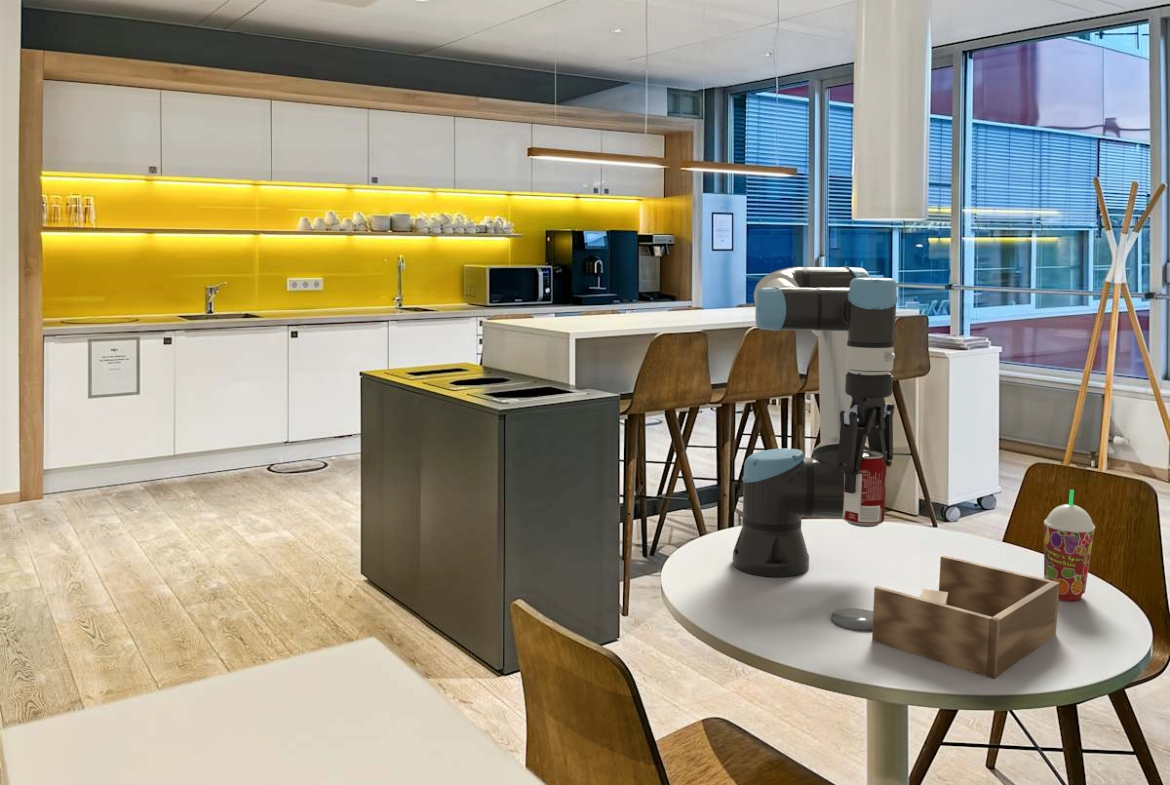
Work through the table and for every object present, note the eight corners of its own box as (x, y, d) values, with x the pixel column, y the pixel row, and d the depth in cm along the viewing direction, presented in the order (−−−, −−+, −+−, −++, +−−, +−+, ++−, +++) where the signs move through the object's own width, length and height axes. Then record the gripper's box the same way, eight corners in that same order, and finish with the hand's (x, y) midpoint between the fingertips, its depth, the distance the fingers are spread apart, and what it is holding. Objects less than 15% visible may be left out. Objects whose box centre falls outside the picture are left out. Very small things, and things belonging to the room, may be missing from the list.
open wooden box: (872, 640, 160) (874, 587, 159) (940, 603, 177) (943, 555, 175) (993, 678, 146) (997, 620, 145) (1055, 634, 163) (1059, 582, 161)
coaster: (821, 620, 169) (821, 617, 169) (849, 607, 175) (849, 604, 175) (868, 635, 162) (868, 631, 162) (895, 621, 169) (895, 617, 168)
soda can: (885, 529, 162) (889, 458, 160) (843, 527, 163) (846, 456, 162) (881, 518, 169) (885, 450, 167) (841, 516, 170) (844, 448, 168)
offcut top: (918, 617, 163) (919, 600, 163) (922, 605, 169) (923, 588, 168) (944, 621, 162) (945, 603, 161) (947, 609, 167) (948, 592, 167)
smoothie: (1035, 598, 180) (1042, 491, 177) (1043, 585, 186) (1050, 482, 184) (1086, 607, 175) (1094, 498, 172) (1092, 593, 182) (1100, 488, 179)
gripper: (858, 379, 153) (852, 522, 156) (919, 368, 166) (912, 501, 170) (816, 374, 158) (812, 513, 161) (879, 365, 172) (873, 493, 175)
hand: (863, 507), depth 166 cm, fingers closed on soda can, 7 cm apart
